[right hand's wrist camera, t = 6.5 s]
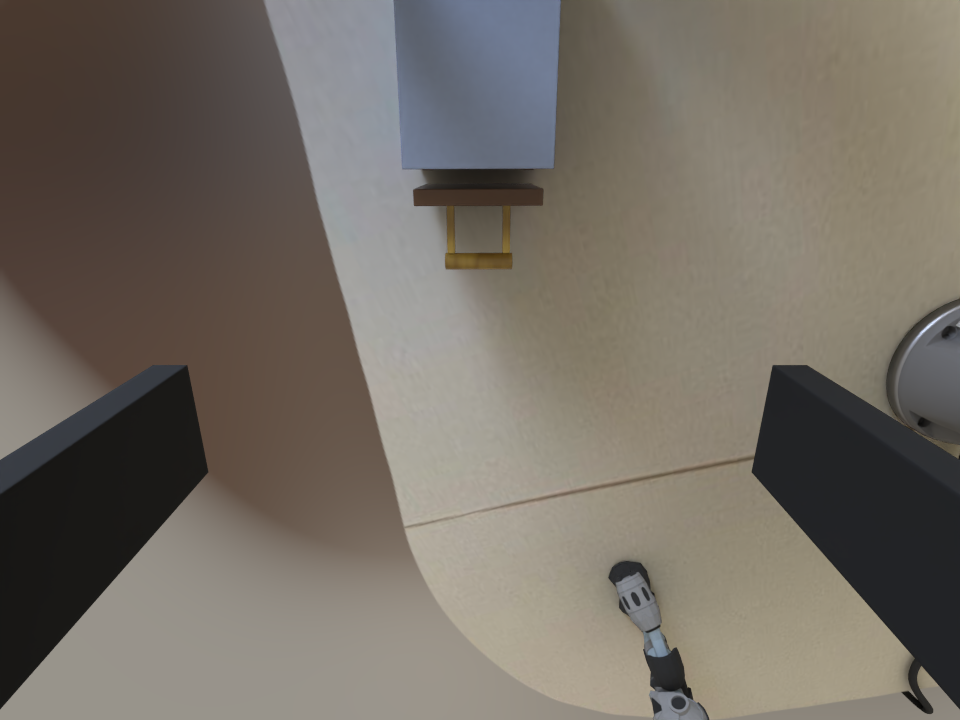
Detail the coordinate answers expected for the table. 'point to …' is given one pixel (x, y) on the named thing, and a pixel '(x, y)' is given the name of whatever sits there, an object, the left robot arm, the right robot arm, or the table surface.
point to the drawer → (478, 197)
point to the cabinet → (477, 83)
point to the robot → (655, 646)
